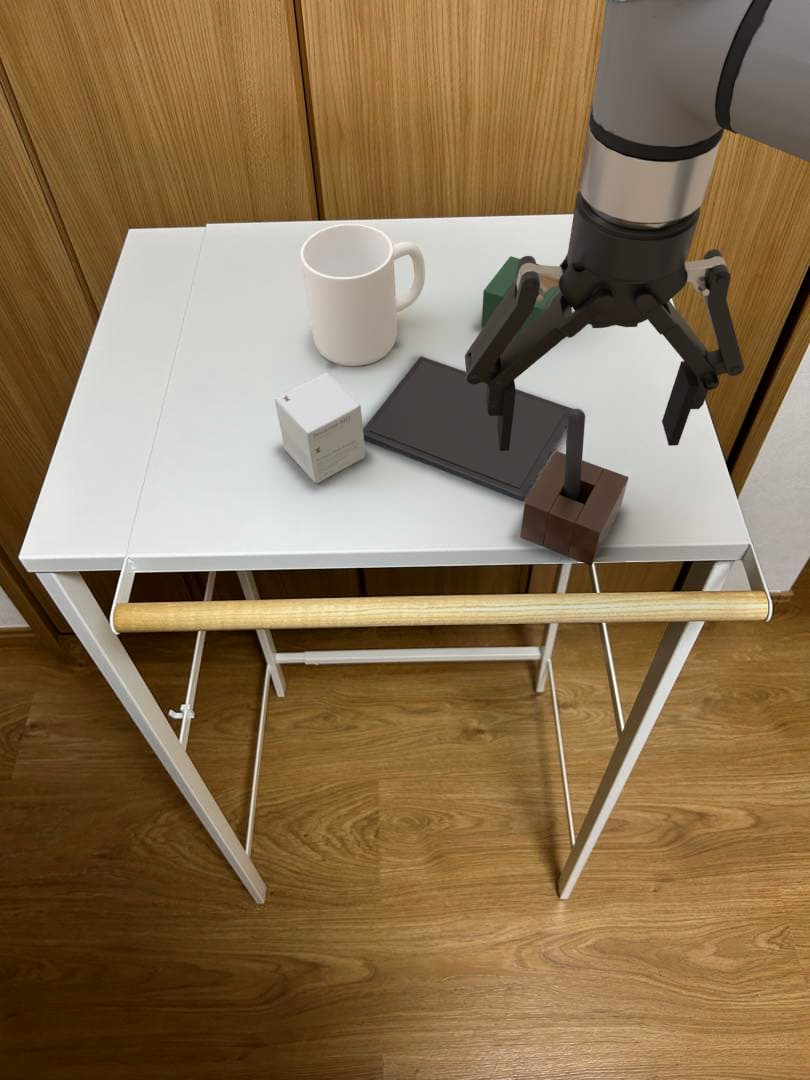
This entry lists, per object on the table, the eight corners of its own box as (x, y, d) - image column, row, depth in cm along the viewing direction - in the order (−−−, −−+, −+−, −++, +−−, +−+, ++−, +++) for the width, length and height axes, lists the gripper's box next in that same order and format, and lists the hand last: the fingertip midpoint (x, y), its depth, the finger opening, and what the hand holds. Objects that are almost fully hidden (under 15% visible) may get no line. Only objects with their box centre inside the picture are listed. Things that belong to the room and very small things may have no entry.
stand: (562, 309, 96) (568, 272, 91) (538, 346, 92) (543, 309, 88) (507, 292, 98) (510, 255, 94) (481, 327, 94) (483, 290, 90)
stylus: (579, 521, 77) (588, 407, 67) (574, 532, 77) (581, 418, 66) (565, 516, 78) (571, 403, 67) (559, 527, 77) (565, 414, 66)
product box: (315, 486, 81) (306, 434, 75) (283, 449, 84) (271, 396, 78) (367, 457, 83) (362, 404, 77) (334, 423, 86) (326, 369, 80)
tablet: (574, 414, 86) (575, 408, 85) (522, 501, 79) (523, 495, 78) (420, 360, 91) (420, 355, 90) (360, 437, 85) (359, 432, 84)
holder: (619, 511, 78) (629, 476, 74) (591, 566, 74) (600, 532, 70) (549, 485, 80) (555, 450, 76) (519, 537, 76) (524, 502, 72)
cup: (300, 330, 95) (285, 240, 85) (405, 291, 98) (402, 201, 89) (336, 379, 90) (324, 290, 80) (445, 336, 93) (446, 246, 84)
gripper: (825, 156, 53) (728, 398, 70) (432, 169, 53) (431, 407, 70) (866, 225, 48) (751, 465, 66) (437, 239, 49) (435, 475, 66)
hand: (586, 436), depth 68 cm, fingers open, 13 cm apart
